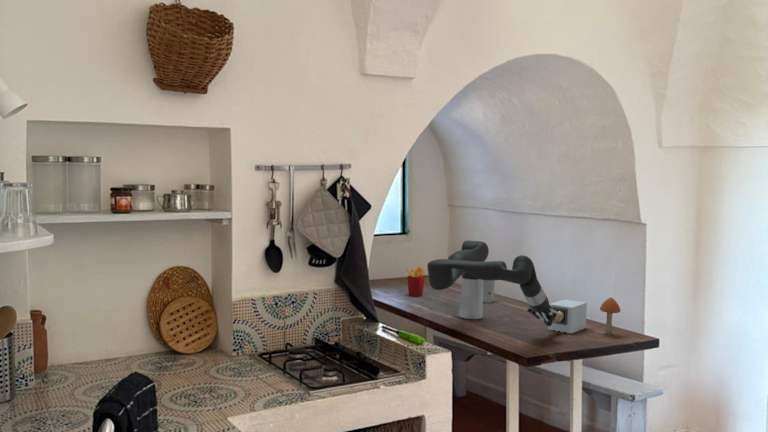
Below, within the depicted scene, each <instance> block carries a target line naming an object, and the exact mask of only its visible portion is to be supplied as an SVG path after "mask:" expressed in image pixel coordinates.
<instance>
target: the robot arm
mask: <svg viewBox="0 0 768 432" xmlns="http://www.w3.org/2000/svg"><path fill="white" fill-rule="evenodd" d="M489 251H490V250H489V245H487V243H486V242H484V241H478V240H464V241H463V243H462V245H461V250H457V251H455V252H453V253H452V254H450V255H449V256H448V258H439V259H438V258H437V259H433V260H431V261H429V262H428V263H427V274H428V283H429V286H430V287H431V289H434V290H437V291H441V290H446V289H448V288H450V287H451V286H453V285H454V284H455V283H456V281H457V280H458V279H459V278H461V293H460V295H459V301H458V303H459V306H458V317H460V318H462V319H466V320H479V319H482V318H483V304H484V302H483V280H495V281H502V282H503V281H504V282H508V283H512V284H517V285H519V287H520V291H521V292H522V294H523V296H524V299H525V301H526V303H527V304H528V308H527V310H526V312H528V314H530V315H532V317H533V316H534V317H535V318H536V319H538V320H541V321H543V323H544V325H546V327H548V326H551V325H552V321H553V319H554V318H555V317H556V316H557V314H558V310H553V309H552V307H551V306H550V305H549V304H550V301H549V298H548V297H547V294H546V292H545V290H544V288H543V287H542V286H541V283H540V282H539V279H538V277H537V273H536V268H535V265H534V263H533V261H532V259H531V258H530V257H528V256H526V255H524V254H523V255H522V254H521V255H517V256H516V257H515V258H514V260H513V262H512V269H508V267H507V263H506V262H505V261H504V260H494V261H492V260H491V261H487V259H488V256H489V253H490V252H489ZM550 312H551V315H550Z"/></svg>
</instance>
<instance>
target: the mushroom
mask: <svg viewBox="0 0 768 432" xmlns="http://www.w3.org/2000/svg"><path fill="white" fill-rule="evenodd" d="M599 310H600V312H604V313H606V322H605V328H604V332H605V335H609V336H610V335H612V333H613V324H612V323H613V314H618V313H621V308H620V306H619V304H618V302H617V301H616V299H614V298H613V297H609V298H607V299H606V300H604V301H603V303H602V304H601V306H600V308H599Z"/></svg>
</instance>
